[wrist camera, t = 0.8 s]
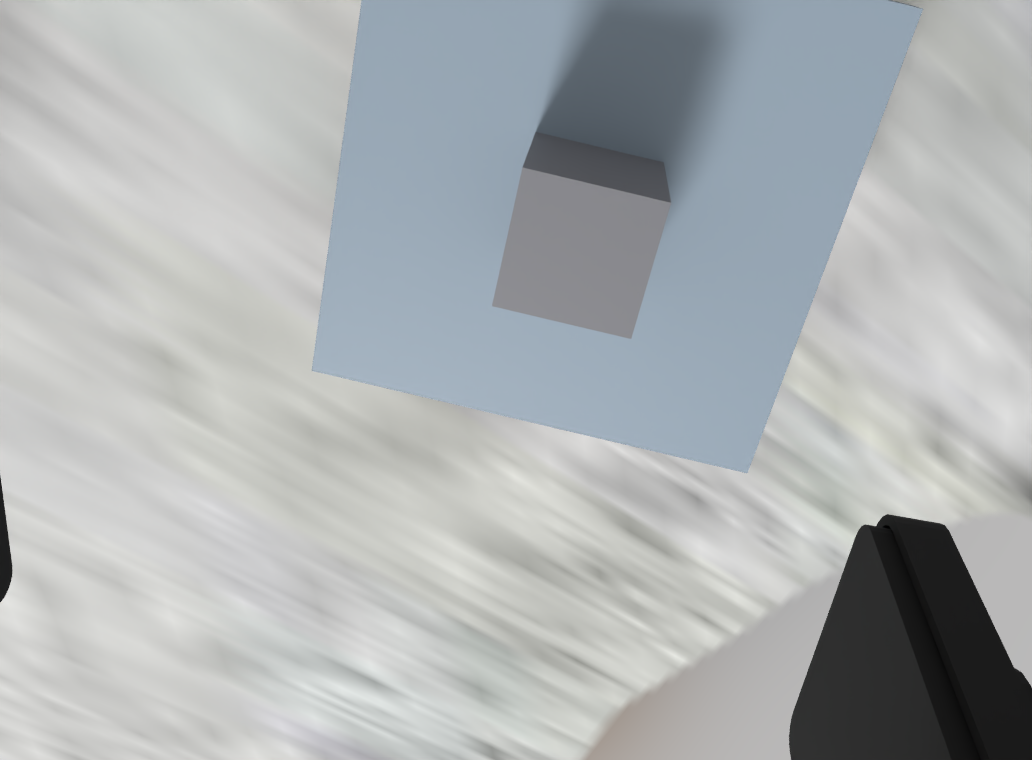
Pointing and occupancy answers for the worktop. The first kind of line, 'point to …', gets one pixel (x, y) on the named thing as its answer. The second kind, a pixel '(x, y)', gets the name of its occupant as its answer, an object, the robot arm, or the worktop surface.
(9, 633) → the worktop surface
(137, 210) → the worktop surface
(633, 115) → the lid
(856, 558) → the robot arm
